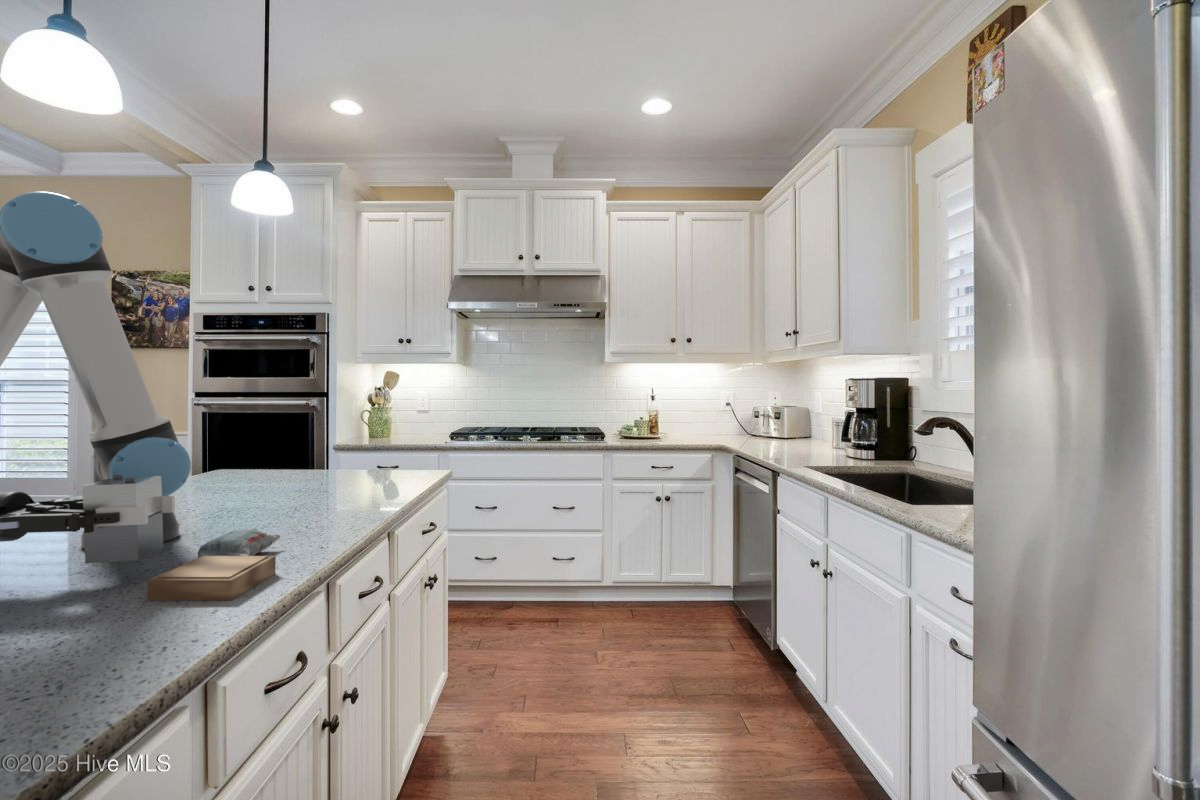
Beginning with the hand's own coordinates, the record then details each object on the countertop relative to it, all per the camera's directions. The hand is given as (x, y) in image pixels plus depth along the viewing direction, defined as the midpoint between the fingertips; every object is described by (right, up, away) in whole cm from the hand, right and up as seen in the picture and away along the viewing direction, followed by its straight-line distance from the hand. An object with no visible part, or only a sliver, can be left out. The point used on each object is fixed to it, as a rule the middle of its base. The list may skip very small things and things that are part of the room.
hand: (160, 509), depth 89 cm
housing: (-5, -7, -1) cm, 9 cm away
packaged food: (+5, -12, +13) cm, 18 cm away
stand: (+10, -12, -2) cm, 16 cm away
